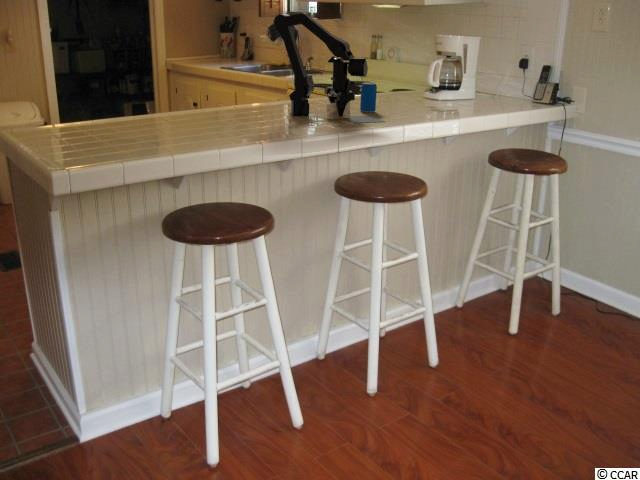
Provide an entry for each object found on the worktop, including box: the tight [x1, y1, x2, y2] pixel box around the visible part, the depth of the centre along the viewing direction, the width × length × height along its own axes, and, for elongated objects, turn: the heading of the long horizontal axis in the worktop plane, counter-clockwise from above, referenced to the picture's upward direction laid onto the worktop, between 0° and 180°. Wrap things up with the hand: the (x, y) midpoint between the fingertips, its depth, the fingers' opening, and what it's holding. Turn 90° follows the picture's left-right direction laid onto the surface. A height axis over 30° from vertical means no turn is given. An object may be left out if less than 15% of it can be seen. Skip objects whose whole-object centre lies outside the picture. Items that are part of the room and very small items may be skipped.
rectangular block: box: [326, 101, 351, 120], centre depth 249 cm, size 9×2×6 cm, turn 108°
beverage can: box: [359, 81, 378, 114], centre depth 265 cm, size 6×6×12 cm
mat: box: [344, 114, 386, 124], centre depth 249 cm, size 13×14×1 cm
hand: (338, 115), depth 249 cm, fingers open, 5 cm apart
